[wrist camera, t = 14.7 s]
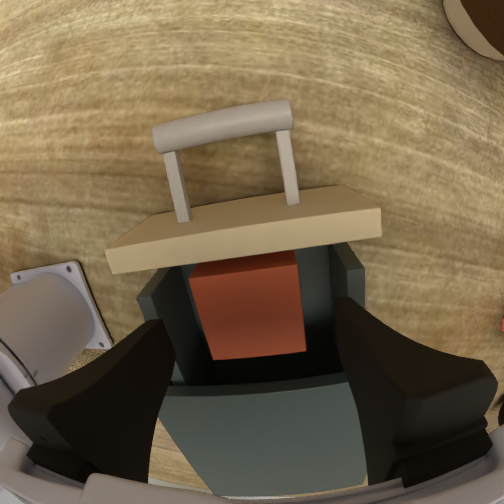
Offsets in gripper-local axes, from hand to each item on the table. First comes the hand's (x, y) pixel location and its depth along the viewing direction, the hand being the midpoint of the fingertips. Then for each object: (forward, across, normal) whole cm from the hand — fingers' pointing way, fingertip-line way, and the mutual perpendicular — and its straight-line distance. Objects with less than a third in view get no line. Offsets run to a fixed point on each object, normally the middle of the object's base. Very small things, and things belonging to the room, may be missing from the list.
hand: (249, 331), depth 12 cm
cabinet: (+7, 0, +11) cm, 13 cm away
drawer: (+6, 0, 0) cm, 7 cm away
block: (+5, 0, 0) cm, 5 cm away
